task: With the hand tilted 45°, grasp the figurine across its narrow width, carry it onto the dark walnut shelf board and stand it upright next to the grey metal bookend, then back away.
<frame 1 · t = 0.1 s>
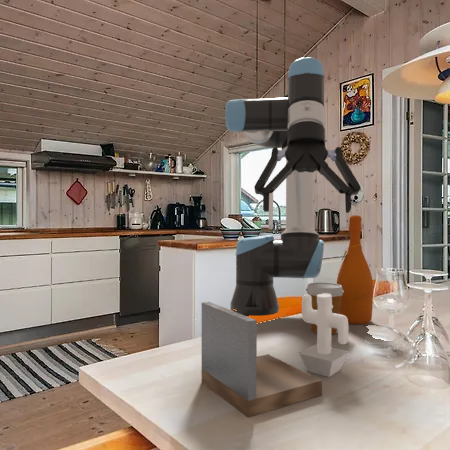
hand: (306, 227, 80), 28 cm above the table, tool tilted 20°, fingers open, 13 cm apart
figurine: (323, 371, 81), on the table
wine bottle: (354, 321, 118), on the table
walnut shelf board: (266, 386, 74), on the table
disposable coffee cup: (324, 332, 108), on the table
grey metal bookend: (226, 346, 69), on the walnut shelf board, point 8 cm above the table
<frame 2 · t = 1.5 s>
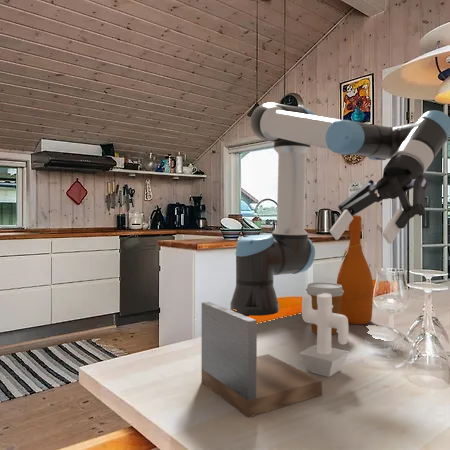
hand: (358, 237, 84), 26 cm above the table, tool tilted 45°, fingers open, 13 cm apart
nothing on the table moved.
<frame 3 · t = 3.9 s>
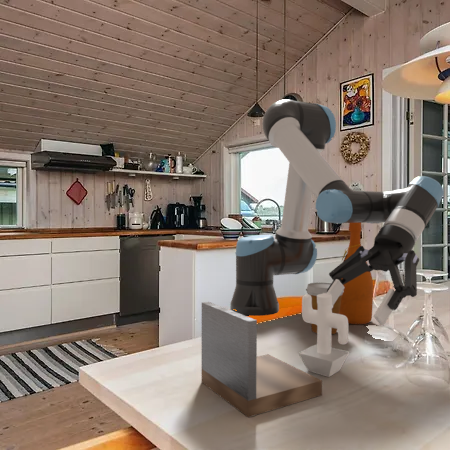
hand: (349, 313, 83), 11 cm above the table, tool tilted 45°, fingers open, 13 cm apart
nothing on the table moved.
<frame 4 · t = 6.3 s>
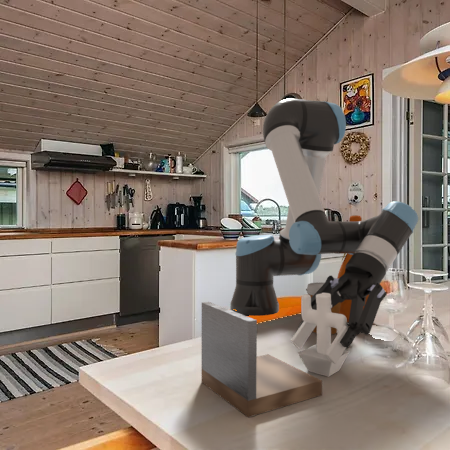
hand: (312, 351, 79), 4 cm above the table, tool tilted 45°, fingers closed on figurine, 9 cm apart
figurine: (323, 371, 81), on the table, touching gripper
everything else where it was.
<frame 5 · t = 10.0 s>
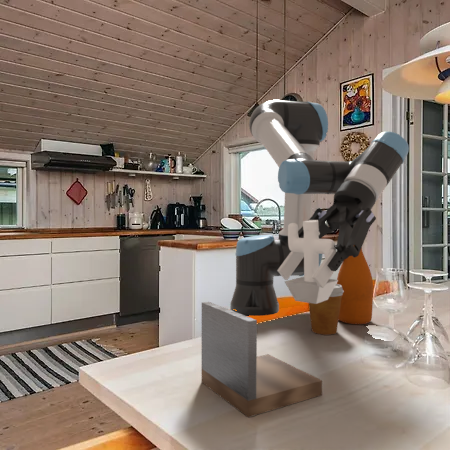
hand: (299, 278, 76), 19 cm above the table, tool tilted 45°, fingers closed on figurine, 9 cm apart
figurine: (311, 301, 78), point 14 cm above the table, touching gripper
everything else where it was.
when the fingers open (8 cm above the table, at t = 13.8 s): figurine drops 1 cm, resting on walnut shelf board.
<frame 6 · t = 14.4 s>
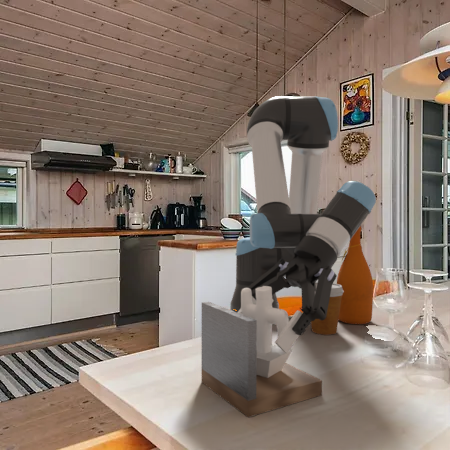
hand: (255, 337, 72), 9 cm above the table, tool tilted 45°, fingers open, 13 cm apart
figurine: (264, 372, 74), point 2 cm above the table, touching walnut shelf board
everything else where it was.
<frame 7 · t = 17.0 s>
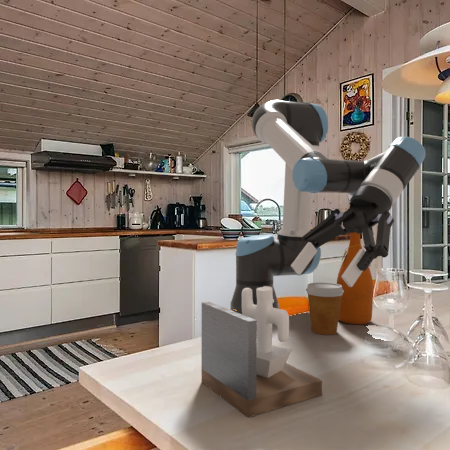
hand: (318, 275, 79), 19 cm above the table, tool tilted 45°, fingers open, 13 cm apart
nothing on the table moved.
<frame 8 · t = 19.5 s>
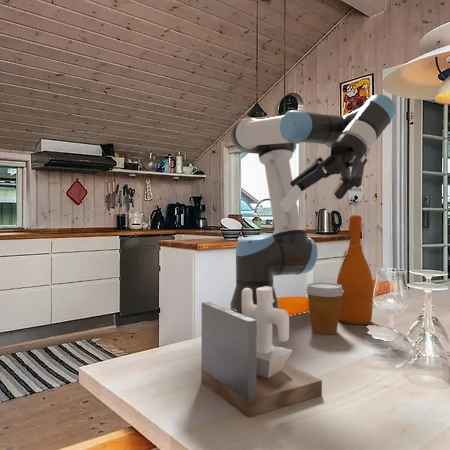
hand: (303, 208, 91), 32 cm above the table, tool tilted 45°, fingers open, 13 cm apart
nothing on the table moved.
at the end: figurine inside the target area on the walnut shelf board (0.7 cm from its centre), point 2.3 cm above the walnut shelf board's base; figurine tilted 0°; the gripper is holding nothing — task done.
